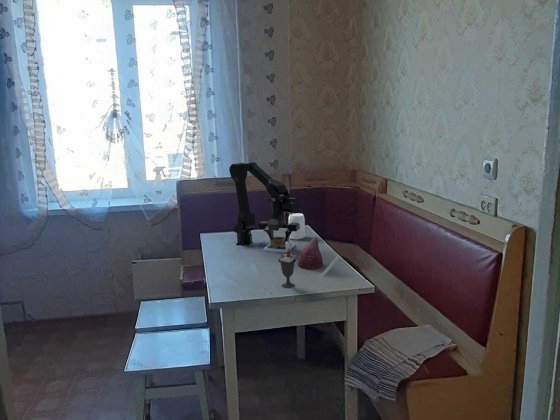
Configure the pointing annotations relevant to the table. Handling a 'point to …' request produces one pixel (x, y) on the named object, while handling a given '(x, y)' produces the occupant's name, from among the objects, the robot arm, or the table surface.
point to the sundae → (287, 268)
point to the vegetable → (310, 256)
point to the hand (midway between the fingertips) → (279, 244)
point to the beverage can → (301, 220)
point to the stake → (288, 248)
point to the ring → (278, 241)
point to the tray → (277, 249)
